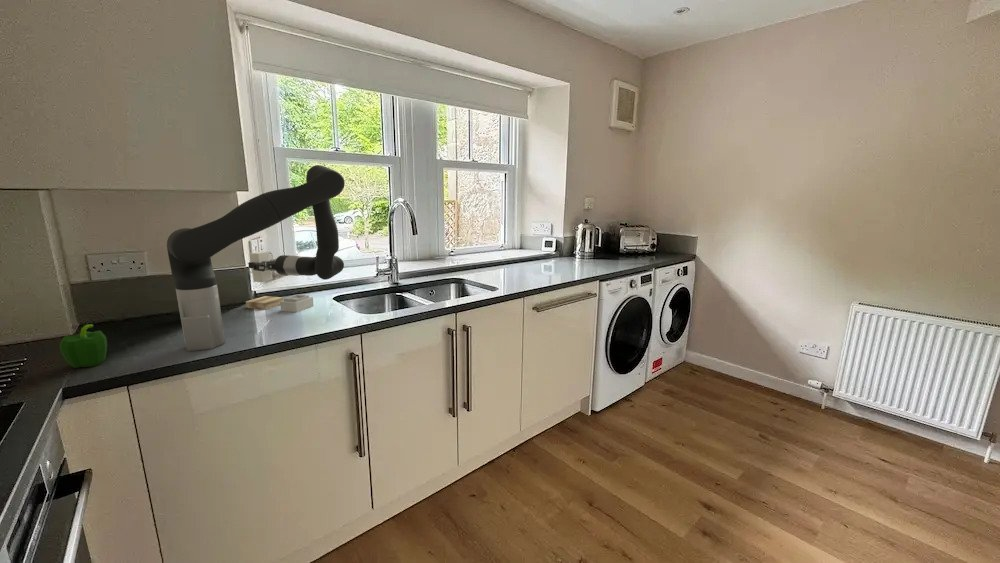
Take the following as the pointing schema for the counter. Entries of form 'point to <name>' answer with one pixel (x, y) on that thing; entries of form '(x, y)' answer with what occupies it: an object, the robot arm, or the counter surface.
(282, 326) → the counter surface
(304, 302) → the beige rectangular block
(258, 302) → the wooden slatted coaster
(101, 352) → the bell pepper
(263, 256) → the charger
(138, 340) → the counter surface
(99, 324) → the counter surface
